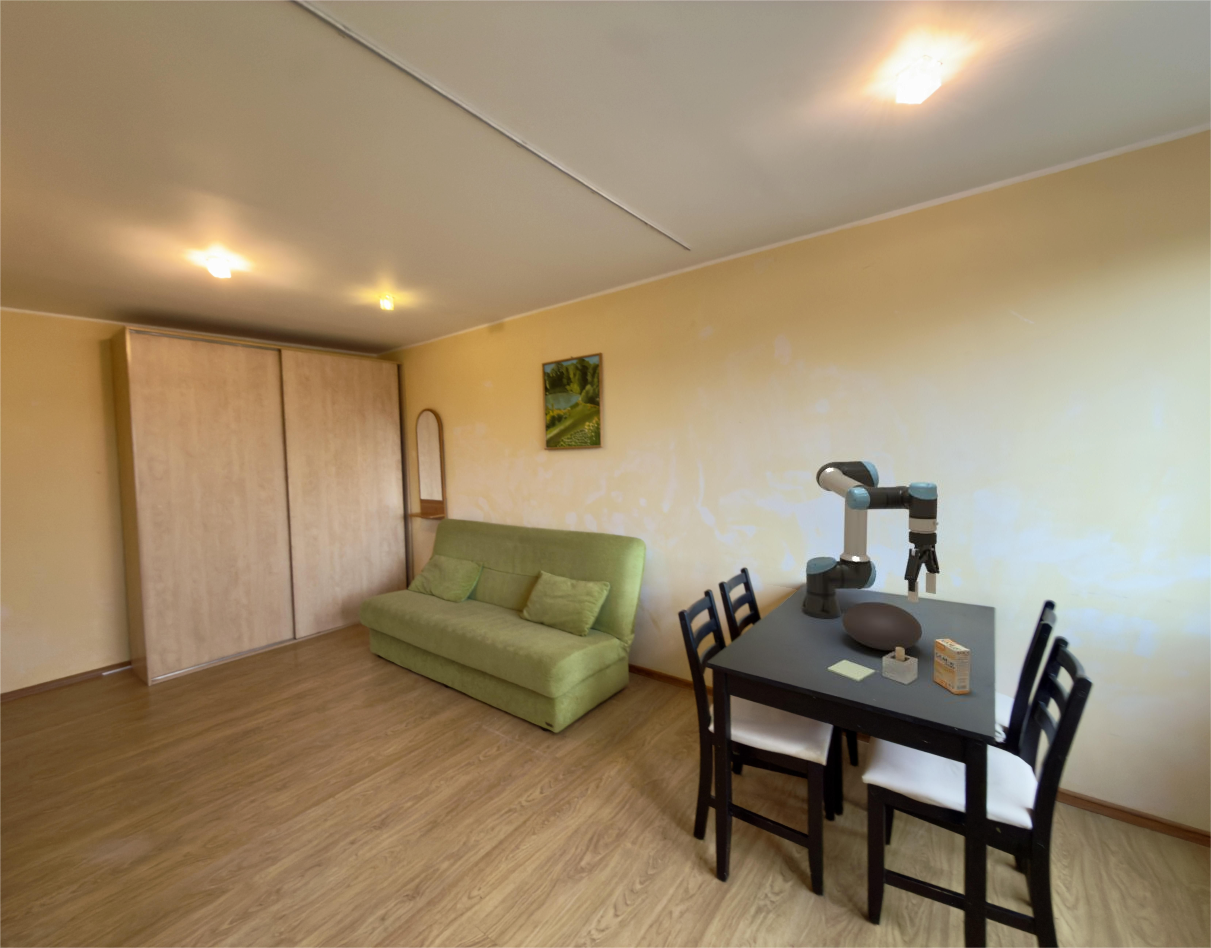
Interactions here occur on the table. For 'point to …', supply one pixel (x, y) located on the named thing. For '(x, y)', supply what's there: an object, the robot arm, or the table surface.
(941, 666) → the supplement box
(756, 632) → the table surface
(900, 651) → the dowel
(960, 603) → the table surface
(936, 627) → the table surface
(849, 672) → the mat
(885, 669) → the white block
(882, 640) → the flattened ellipsoid
